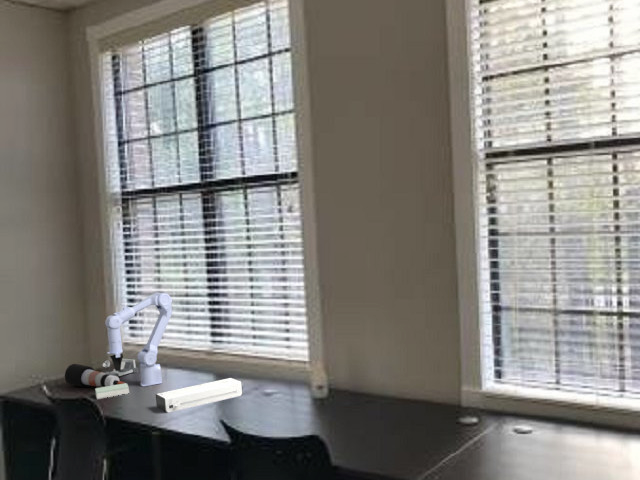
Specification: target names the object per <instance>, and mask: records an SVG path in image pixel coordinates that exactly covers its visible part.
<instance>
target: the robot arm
mask: <svg viewBox="0 0 640 480" xmlns="http://www.w3.org/2000/svg"><path fill="white" fill-rule="evenodd" d="M172 303H173V300H172V298H171V295H169V294H168V293H167V292H166V293H165V292H164V293H163V292H158V291H157V292H155V293H153V294H150V295H149V296H147V297H145V298H144V299H143V300H140V301H139V302H138V303H136V304H134V305H133V306H132V307H131V306H124V307H122V309H121V310H119V311H117V312H114V313H113V315H108V316H107V317H106V319H105V322H104V324H105V325H104V326H106V329H107V337H108V339H107V340H108V348H109V351H106V354H108V355H109V354H110V355H109V357H110V359H111V361H112V363H113V366H114V367H113V368H114V369H115V370H116V371H120V370H121V361H122V359H124V355H123V351H124V350H123V343H122V334H121V326H122V325H123V324H125V323H127V322H128V321H130V320H131V319H134V317H135V314H137V313H138V312H140V311H142V310H144V309H146V308H148V307H150V306H155V307H156V308H157V310H158V312H159V315H158V318H157V319H156V322H155V325H154V327H153V329H152V332H151V334H150V336H149V339H148V340H147V343H146V344H145V345H144V346H143V347H142V349H141V350H140V351H139V352H138V354H137V361H138V362H139V363H140V364H139V370H140V381H141V382H139V385H140V386H141V387H149V386H154V385H160V384H161V385H162V384H163V377H162V368H161V364H160V363H156V362H157V358H158V357H157V356H158V353H159V351H158V348H159V345H160V343H161V340H162V338H163V335H164V333H165V332H166V329H167V327H168V324H169V322H170V320H171V317H172V314H173V308H172Z"/></svg>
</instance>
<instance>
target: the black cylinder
mask: <svg viewBox="0 0 640 480" xmlns="http://www.w3.org/2000/svg"><path fill="white" fill-rule="evenodd" d="M102 372H103V371H97V370H95V369H94V368H93V367H92V366H87V365H83V364H77V363H72V364H70V365H69V366H67V368H66V370H65V373H64V380H65V382H66V383H67V384H68V385H71V386H72V385H73V386H78V387H82V388H87V387H90V386H91V387H96V388H100V387H106V386H112V385H118V384H124V383H125V382H124V381H120V378H118V377H117V376H112V375H109V374H105V373H102Z"/></svg>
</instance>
